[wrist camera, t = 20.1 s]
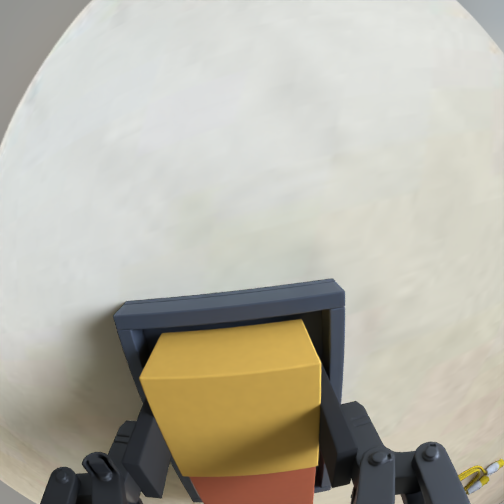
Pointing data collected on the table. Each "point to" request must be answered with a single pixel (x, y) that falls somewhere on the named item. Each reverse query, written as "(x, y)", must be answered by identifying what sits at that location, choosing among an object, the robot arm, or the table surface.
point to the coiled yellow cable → (483, 479)
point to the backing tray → (235, 315)
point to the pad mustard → (237, 398)
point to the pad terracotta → (258, 488)
